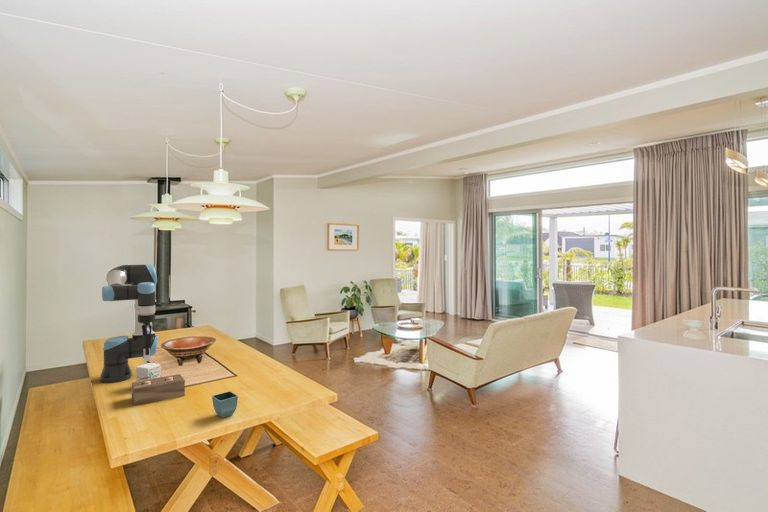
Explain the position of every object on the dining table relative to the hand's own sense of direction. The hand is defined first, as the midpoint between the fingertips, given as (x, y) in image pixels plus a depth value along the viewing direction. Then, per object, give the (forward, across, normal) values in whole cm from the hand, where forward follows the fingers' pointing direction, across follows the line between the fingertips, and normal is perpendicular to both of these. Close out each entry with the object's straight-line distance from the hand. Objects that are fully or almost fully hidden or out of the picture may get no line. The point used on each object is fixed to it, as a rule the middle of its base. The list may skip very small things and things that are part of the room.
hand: (146, 360), depth 203 cm
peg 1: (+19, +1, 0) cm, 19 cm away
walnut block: (+19, +1, +5) cm, 20 cm away
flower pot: (+19, +42, +26) cm, 53 cm away
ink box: (+20, -18, +3) cm, 27 cm away
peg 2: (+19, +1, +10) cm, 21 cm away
